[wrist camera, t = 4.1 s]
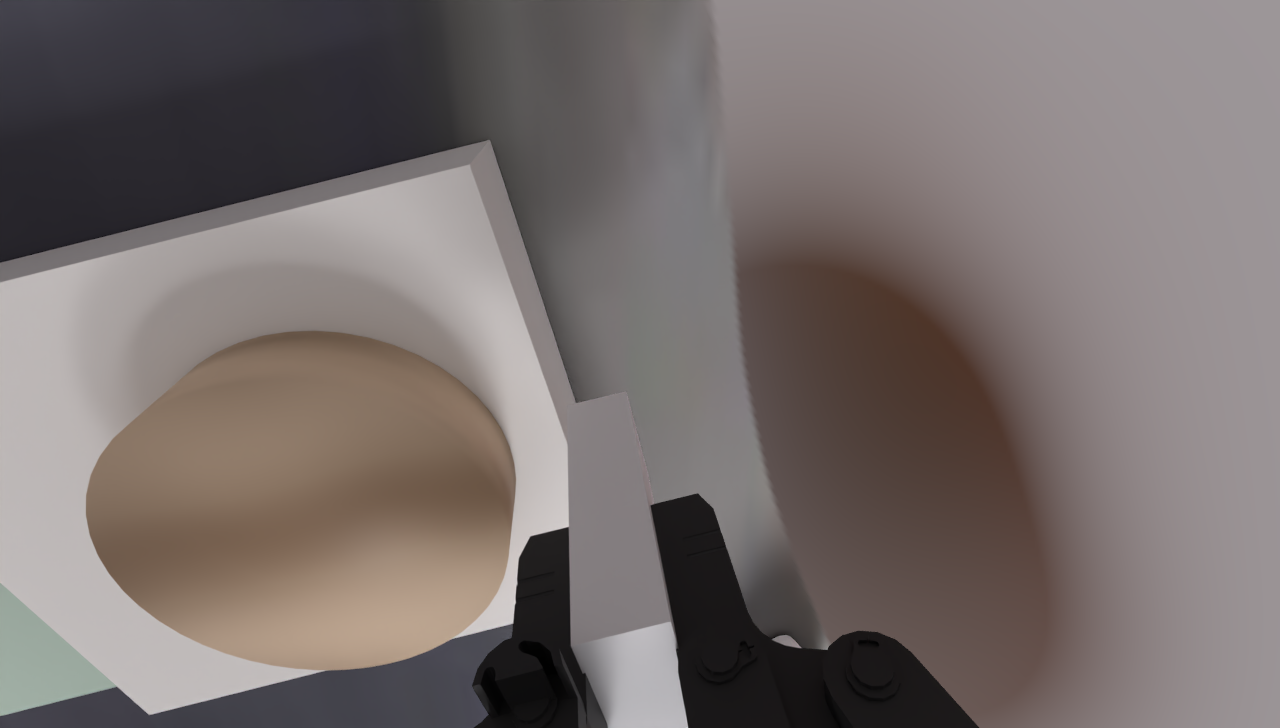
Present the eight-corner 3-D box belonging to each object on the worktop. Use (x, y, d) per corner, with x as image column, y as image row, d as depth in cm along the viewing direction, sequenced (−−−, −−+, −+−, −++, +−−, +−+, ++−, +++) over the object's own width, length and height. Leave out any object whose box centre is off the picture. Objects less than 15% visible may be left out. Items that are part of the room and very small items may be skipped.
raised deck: (611, 511, 23) (621, 596, 19) (213, 612, 23) (149, 714, 19) (490, 139, 16) (469, 164, 12) (-80, 282, 16) (-264, 348, 12)
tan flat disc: (552, 559, 18) (550, 627, 16) (265, 623, 18) (225, 700, 16) (452, 294, 13) (432, 339, 11) (71, 377, 13) (-20, 438, 11)
